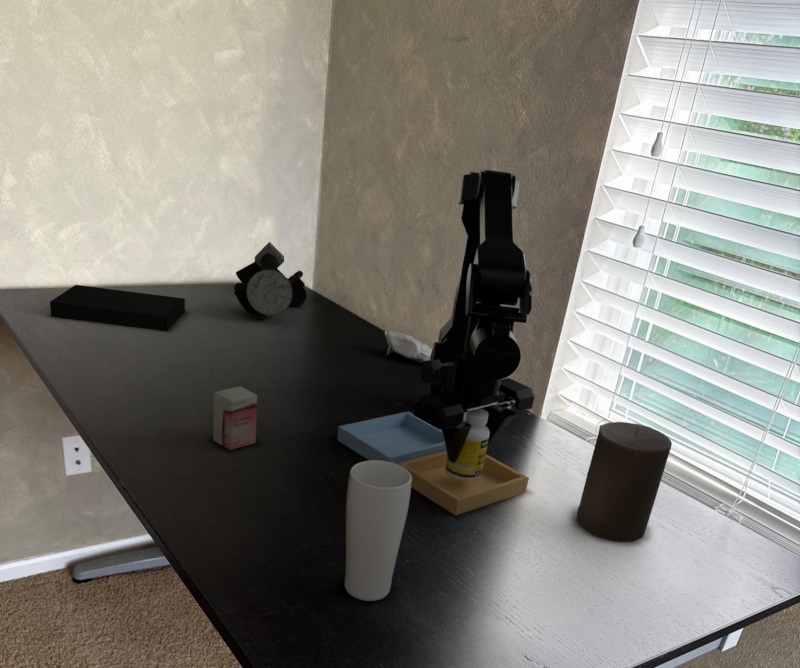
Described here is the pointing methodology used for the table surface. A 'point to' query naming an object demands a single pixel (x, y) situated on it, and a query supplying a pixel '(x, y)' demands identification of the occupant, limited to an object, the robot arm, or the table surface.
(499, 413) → the robot arm
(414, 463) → the tray
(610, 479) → the pillar candle
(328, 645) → the table surface
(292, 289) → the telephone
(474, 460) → the supplement bottle
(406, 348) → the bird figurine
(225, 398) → the small box
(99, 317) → the external hard drive
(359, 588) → the drinking glass
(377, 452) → the tray
